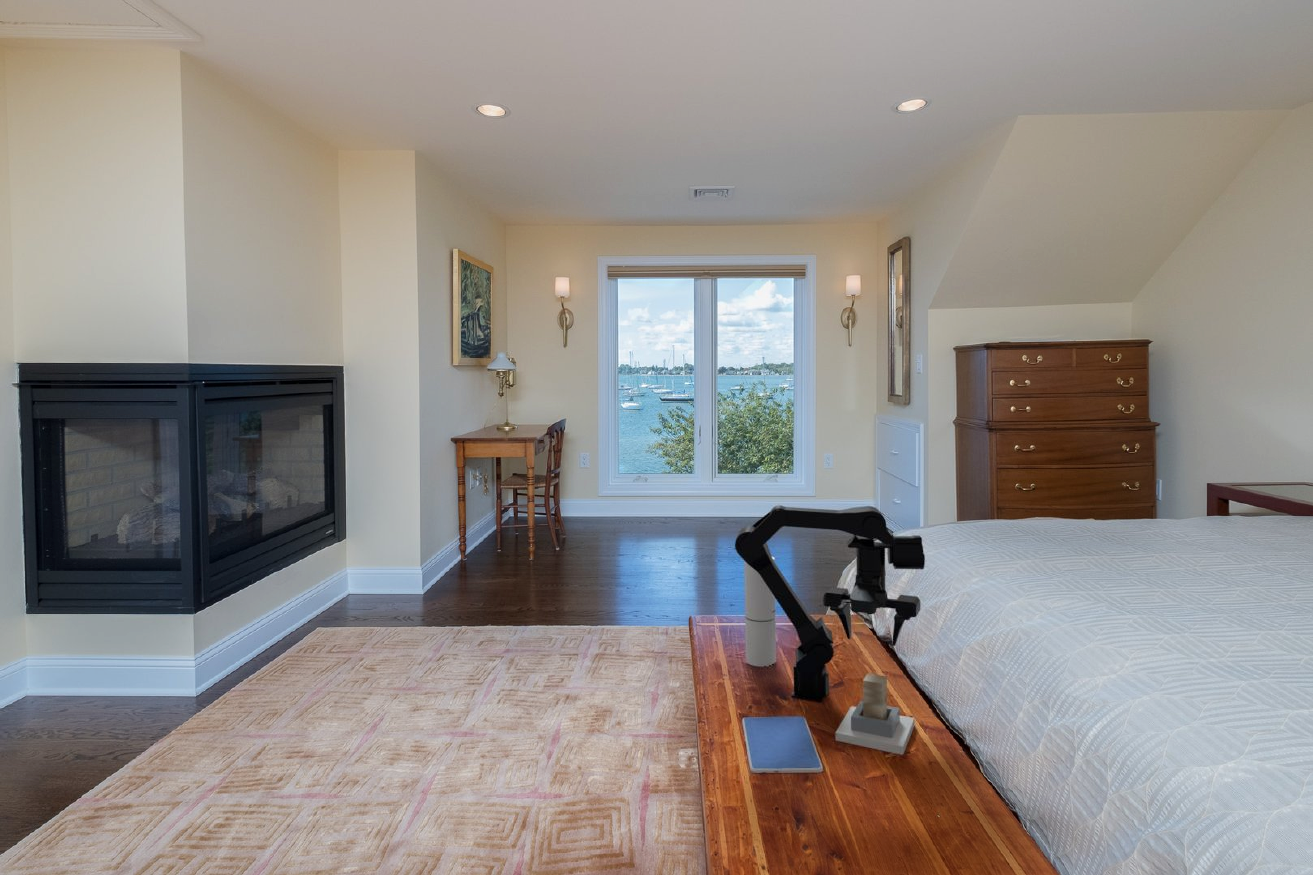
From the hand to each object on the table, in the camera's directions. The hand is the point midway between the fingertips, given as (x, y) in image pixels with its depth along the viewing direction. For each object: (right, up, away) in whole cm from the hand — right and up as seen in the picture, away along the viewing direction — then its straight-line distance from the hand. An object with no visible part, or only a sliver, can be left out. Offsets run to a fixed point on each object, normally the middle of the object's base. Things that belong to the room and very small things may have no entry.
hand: (871, 641), depth 149 cm
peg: (-3, -12, -14) cm, 19 cm away
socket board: (-3, -13, -14) cm, 20 cm away
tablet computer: (-22, -15, -17) cm, 32 cm away
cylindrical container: (-20, -11, +22) cm, 32 cm away
